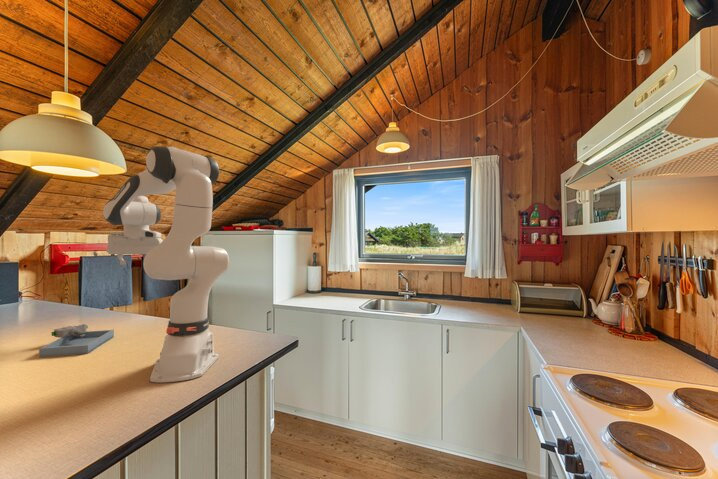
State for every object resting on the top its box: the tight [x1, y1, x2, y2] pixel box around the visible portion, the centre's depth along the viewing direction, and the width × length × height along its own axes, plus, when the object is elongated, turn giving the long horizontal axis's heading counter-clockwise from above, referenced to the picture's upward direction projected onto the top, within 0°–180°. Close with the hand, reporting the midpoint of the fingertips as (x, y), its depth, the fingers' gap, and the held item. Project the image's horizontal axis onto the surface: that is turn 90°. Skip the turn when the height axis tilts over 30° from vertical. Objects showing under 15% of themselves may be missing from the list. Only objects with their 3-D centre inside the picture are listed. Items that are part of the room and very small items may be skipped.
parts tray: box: [38, 329, 115, 358], centre depth 110 cm, size 18×14×3 cm
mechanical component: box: [50, 323, 88, 339], centre depth 113 cm, size 3×10×10 cm
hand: (136, 264), depth 128 cm, fingers open, 8 cm apart
